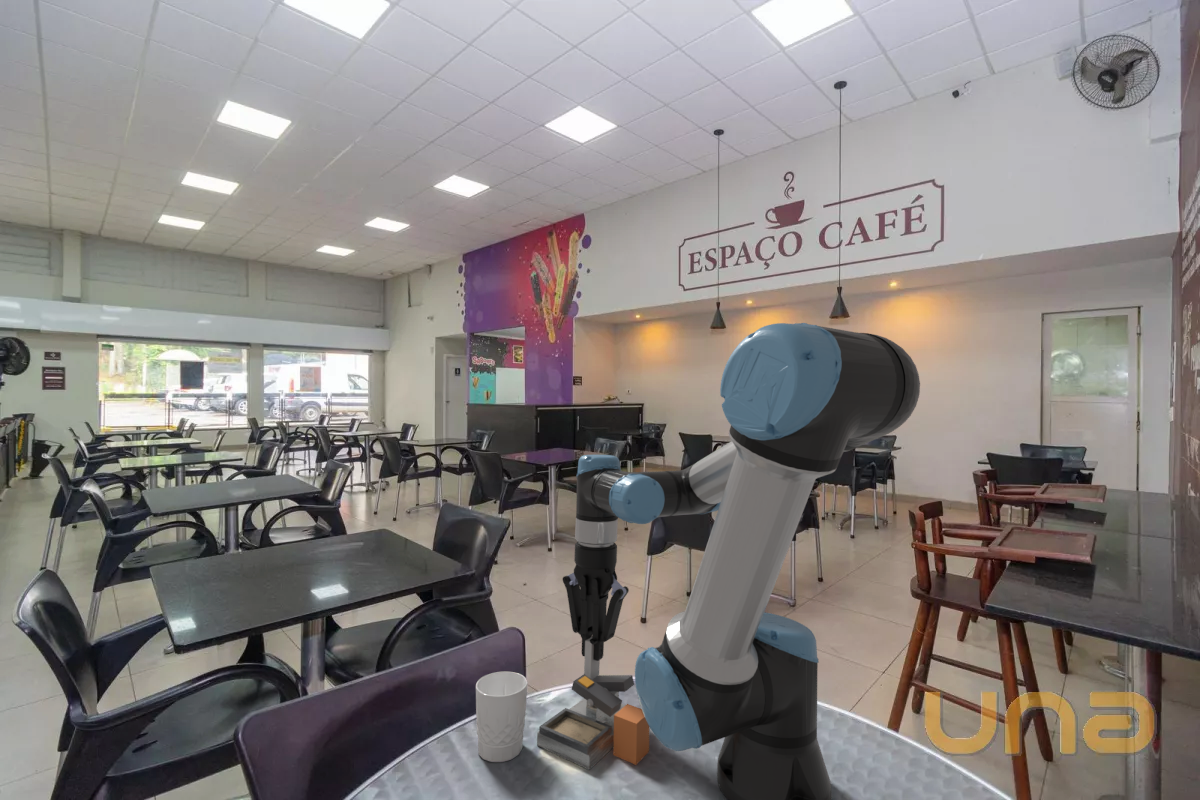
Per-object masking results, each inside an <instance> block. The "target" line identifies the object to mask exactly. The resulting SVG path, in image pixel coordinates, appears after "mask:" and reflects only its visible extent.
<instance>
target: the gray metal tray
mask: <svg viewBox="0 0 1200 800" xmlns="http://www.w3.org/2000/svg"><path fill="white" fill-rule="evenodd" d="M611 693H612V694H614V695H615V696H616V697H618V698H619V699H620V692H611ZM626 705H627V704H625V703H621V707H620V709H619V710H618V711H620V710H621V709H622V708H623V707H624V706H626ZM618 711H617V712H618ZM617 712H616V713H617ZM616 713H614V714H613V715H612V716H611V717H609V716H608V715H607V714H605V713H604V712H602V711H601V710H600V709H598V708H597V707H595V706H592V707H589V706H588V705H587V700H586V699H584V698H582V699H581V700H580V701H579V702H577V703H575V704H574V705H573V706H572V707H571V708H567V707H564V709H562V710H561V711H559V712H558V713H556V714H555V715H554V716H552V717H551V718H549V719H548V720H546V721H545V722H544V723H542V724H541V725H540V726H539V729H538V731H537V733H536V746H538V747H540V748H542V749H543V750H546V751H548V752H550V753H552V754H554V755H556V756H559V757H561V758H563V759H565V760H568V761H570V762H572V763H574V764H576V765H578V766H580V767H582V768H585V769H587V770H589V771H590V769H592V768H593V767H594V766H595V765H596V764H598V762H599V761H601V760H602V759H603V758H604V757H605V756H606V755H607V754H608V753H609V752H610V751H612V750H613V749H614V715H615V714H616Z"/></svg>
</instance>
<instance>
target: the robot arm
mask: <svg viewBox="0 0 1200 800" xmlns="http://www.w3.org/2000/svg"><path fill="white" fill-rule="evenodd" d="M726 361H727V362H726V364H725V367H724V369H723V373H722V376H721V380H720V381H721V382H720V392H719V393H720V397H721V398H723V399H724V401H723V402H722V403H721V407H722V411H723V414H724V416H725V418H726V420H727V422H728V423H729V424H730V428H729V432H728V436H729V438H730V441H729V442H727V443H725V444H724V445H723V446H721V447H720V448H718V449H716V450H714V451H713V452H711V453H710V454H708V455H706V456H705V457H702V458H701V459H700V460H698V461H697V462H695V463H693V464H692V465H690V466H687V467H686V468H684V469H682V470H665V471H664V470H662V471H661V470H660V471H638V472H637V471H633V472H631V471H624V470H622V469H621V466H620V465H621V464H620V459H619V457H617V456H616V455H613V454H584V455H581V456H580V457H579V458H578V462H577V463H578V464H577V473H576V477H575V478H576V500H575V501H576V503H575V504H576V508H575V509H576V510H575V515H576V516H575V526H574V527H575V528H574V529H575V531H574V539H575V540H576V543H575V544H574V558H573V559H574V560H573V561H574V563H575V567H574V568H573V572H572V573H569V574H567V575H564V576H563V577H562V583H563V585H564V587H565V589H566V595H567V601H568V602H567V603H568V608H569V615H570V621H571V628H572V632H573V633H574V634H579V636H580V638H581V655H582V657H584V664H583V668H584V671H583V675H584V674H585V675H586V676H587V677H589V678H590V679H593V678H595V677H596V676H598V675H600V660H602V659H603V658H604V650H605V649H604V645H605V642H607V641H608V640H610V639H612V638H613V637H615V633H616V629H617V626H618V621H619V617H620V613H621V609H622V606H623V602H624V599H625V597H626V596H627V594H628V593H629V587H628V586H626V585H625V586H622V584H621V583H620V582H619V581H618V575H617V572H616V565H617V563H618V562H617V557H618V544H617V543H616V542H617V541H618V530H619V529H618V525H619V522H618V521H619V519H621V521H623V522H627V523H630V524H637V525H647V524H650V523H652V522H653V521H654V520H655V519H657V518H663V517H672V516H683V515H686V516H687V515H705V514H709V513H715V512H716V515H715V519H714V522H713V525H712V527H711V531H710V534H709V538H708V541H707V543H706V547H705V549H704V552H703V555H702V558H701V561H700V565H699V567H698V571H697V574H696V576H695V580H694V583H693V585H692V586H693V587H692V589H691V593H690V595H689V599H688V602H687V605H686V608H685V610H684V611H680V612H679V613H676V614H674V616H672V618H671V619H670V620H669V622H668V624H667V626H666V629H665V633H664V635H663V639H662V642H661V644H660V645H659V646H656V647H653V646H650V647H648V648H647V649H645V650H643V651H641V652H640V653H639V655H637V656H638V657H637V658H636V661H635V665H634V667H635V668H634V682H635V683H634V685H635V691H636V694H637V699H638V701H639V705H640V709H642V711H643V714H644V716H645V719H646V721H647V723H648V725H649V729H650V730H651V731H652V733H653V735H654V736H655V738H657V740H658V741H659V742H660V743H661V744H662V746H664V747H666V748H667V749H669V750H670V749H671V750H672V751H674V752H683V751H685V750H690V749H700V748H701V747H702V746H704V745H708V744H710V743H712V742H713V743H714V742H716V741H718V740H721V739H724V740H723V742H722V744H721V748H720V751H719V754H718V757H717V763H716V764H717V769H716V771H717V773H716V775H717V776H716V777H717V778H716V779H717V780H716V781H717V785H718V787H719V789H720V791H721V792H722V794H723V795H724V797H725V798H726V799H727V800H832V784H831V780H830V776H829V773H828V770H827V766H826V763H825V761H824V760H825V759H824V757H823V754H822V750H821V746H820V744H819V741H818V664H819V663H820V662H819V658H818V649H817V648H818V647H817V639H816V637H815V634H814V633H813V631H812V630H811V629H810V628H809V627H808V626H806V625H805V624H803V623H801V622H799V621H797V620H794V619H791V618H789V617H785V616H782V615H779V614H774V613H771V612H766V608H767V606H768V603H769V602H770V599H771V595H772V593H773V591H774V588H775V585H776V582H777V579H778V577H779V575H780V573H781V569H782V567H783V564H784V563H785V560H786V556H787V554H788V551H789V549H790V546H791V544H792V541H793V539H794V536H795V533H796V531H797V530H798V526H799V524H800V520H801V518H802V515H803V512H804V511H805V508H806V505H807V502H808V501H809V500H808V499H809V498H810V494H811V492H812V489H813V487H814V485H815V482H816V479H819V478H821V477H825V476H827V475H831V474H833V473H834V472H836V470H837V468H838V467H839V463H840V461H841V458H842V456H843V454H844V452H849V451H853V450H854V449H856V448H857V449H858V448H859V447H860V446H863V445H865V444H869V443H870V442H873V441H874V440H877V439H879V438H883V437H884V436H887V435H888V434H890V433H893V432H894V431H896V430H898V429H899V428H900V427H901V426H902V425H903V424H904V423H906V422H907V420H909V418H910V417H911V416H912V414H913V412H914V411H915V409H916V408H917V404H918V401H919V398H920V393H921V391H920V390H921V381H920V375H919V371H918V368H917V365H916V364H915V362H914V360H913V359H912V356H911V355H909V354H908V353H907V352H906V351H905V349H904V348H902V346H900V345H898V343H896V342H894V341H893V340H890V339H889V338H887V337H884V336H881V335H877V334H873V333H868V332H867V333H866V332H857V331H850V330H844V329H838V328H832V327H826V326H821V325H817V324H809V323H807V322H801V323H797V322H796V323H787V322H785V323H784V322H782V323H779V322H778V323H772V324H768V325H764V326H762V327H760V328H758V329H757V330H756V331H754V332H752V333H750V334H748V335H746V337H744V338H743V339H742V340H741V341H740V342H739V343H738V345H737V346H736V347H735V348H734V350H733V351H732V352H731V354H730V356H729V358H728V360H726ZM610 591H611V592H610ZM609 593H610V595H611V597H610V600H609V602H608V599H609ZM607 602H608V603H609V604H608V607H607Z"/></svg>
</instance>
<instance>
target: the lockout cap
mask: <svg viewBox="0 0 1200 800" xmlns="http://www.w3.org/2000/svg"><path fill="white" fill-rule="evenodd" d="M625 705H626V706H624V707H623V708H622V709H621V710H620V711H618V712H617V713H616V714H615V715H614V747H613V748H612V750H613V754H612V755H613V756H614V757H616V758H619V759H622V760H624V761H626V762H628V763H631V764H633V765H635V766H637V765H638V763H640V762H641V761H642V760H643V759H644V757H646V756H647V754H649V753H650V727H649V725H648V723H647V721H646V719H645V716H644V714H643V711H642V709H641V707H637V706H634V705H632V704H629V703H627V704H625Z"/></svg>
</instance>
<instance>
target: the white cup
mask: <svg viewBox="0 0 1200 800" xmlns="http://www.w3.org/2000/svg"><path fill="white" fill-rule="evenodd" d="M527 679H528V678H527V677H526V676H524V675H523V674H521V673H518V672H513V671H497V672H495V671H494V672H492V673H489V674H485V675H483V676H482V677H480V678H479V679H478V680H477V682H475V683H476V684H475V709H476V710H475V717H476V735H477V746H478V747H477V749H478V755H479V757H480V758H482V760H485V761H487V762H489V763H504V762H508V761H511V760H513V759H514V758H516V757H517V756H519V755H520V753H521V751H522V749H523V744H524V743H523V741H524V731H525V722H526V712H527V711H526V710H527V695H528V680H527Z"/></svg>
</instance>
